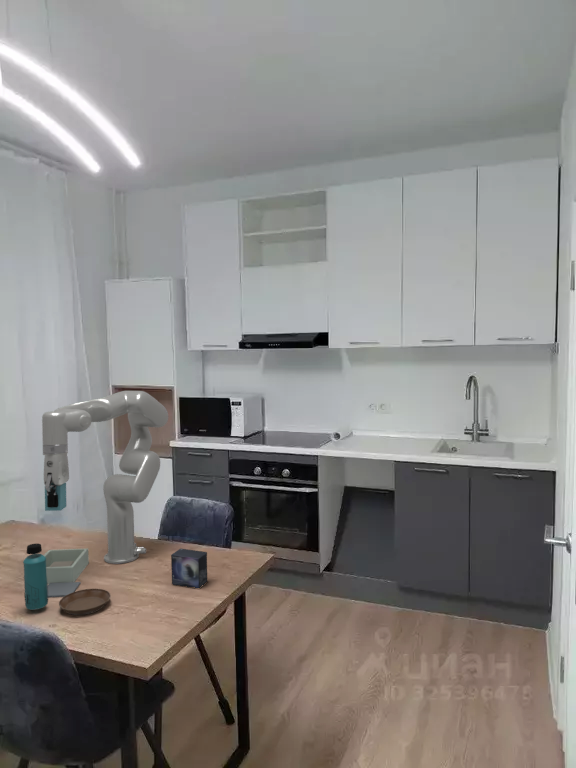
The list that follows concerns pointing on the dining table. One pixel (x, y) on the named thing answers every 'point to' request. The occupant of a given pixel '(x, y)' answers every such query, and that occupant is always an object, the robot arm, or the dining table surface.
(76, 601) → the saucer
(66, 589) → the mat
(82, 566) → the frame
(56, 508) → the block
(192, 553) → the small box
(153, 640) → the dining table surface
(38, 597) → the beverage bottle
